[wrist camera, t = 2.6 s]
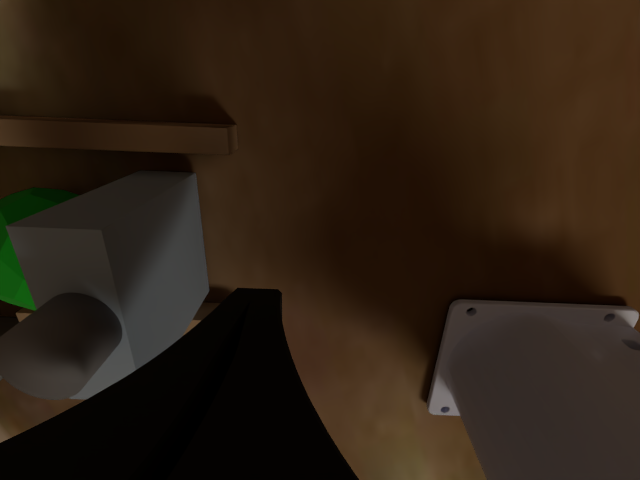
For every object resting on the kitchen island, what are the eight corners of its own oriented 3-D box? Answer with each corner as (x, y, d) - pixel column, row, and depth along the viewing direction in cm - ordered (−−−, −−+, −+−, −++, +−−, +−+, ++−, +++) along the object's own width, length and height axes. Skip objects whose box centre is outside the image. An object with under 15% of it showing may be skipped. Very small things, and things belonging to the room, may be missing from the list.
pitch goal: (234, 85, 13) (199, 82, 10) (249, 341, 19) (231, 402, 15) (-227, 66, 13) (-437, 56, 10) (-81, 328, 19) (-181, 385, 15)
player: (195, 172, 14) (53, 259, 7) (209, 290, 17) (115, 450, 9) (140, 170, 14) (-63, 254, 7) (161, 288, 17) (28, 446, 9)
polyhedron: (12, 212, 16) (-109, 258, 11) (81, 155, 15) (-24, 181, 10) (93, 288, 17) (15, 354, 13) (161, 242, 16) (100, 297, 12)
